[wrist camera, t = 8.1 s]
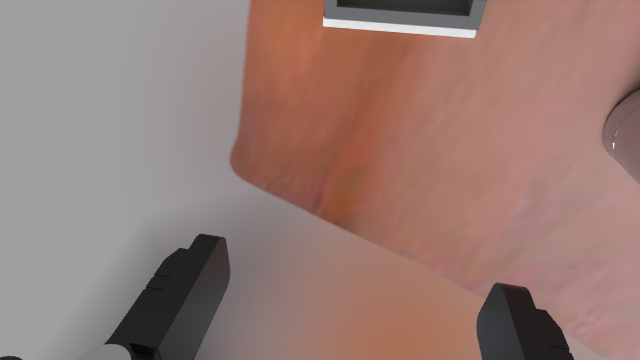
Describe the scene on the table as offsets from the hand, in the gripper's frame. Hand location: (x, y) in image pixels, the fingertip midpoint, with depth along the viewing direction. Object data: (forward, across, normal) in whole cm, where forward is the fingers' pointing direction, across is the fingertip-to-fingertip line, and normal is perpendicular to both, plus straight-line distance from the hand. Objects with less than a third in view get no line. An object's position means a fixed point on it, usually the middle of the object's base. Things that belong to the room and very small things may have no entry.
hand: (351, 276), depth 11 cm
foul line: (+29, -2, -1) cm, 29 cm away
